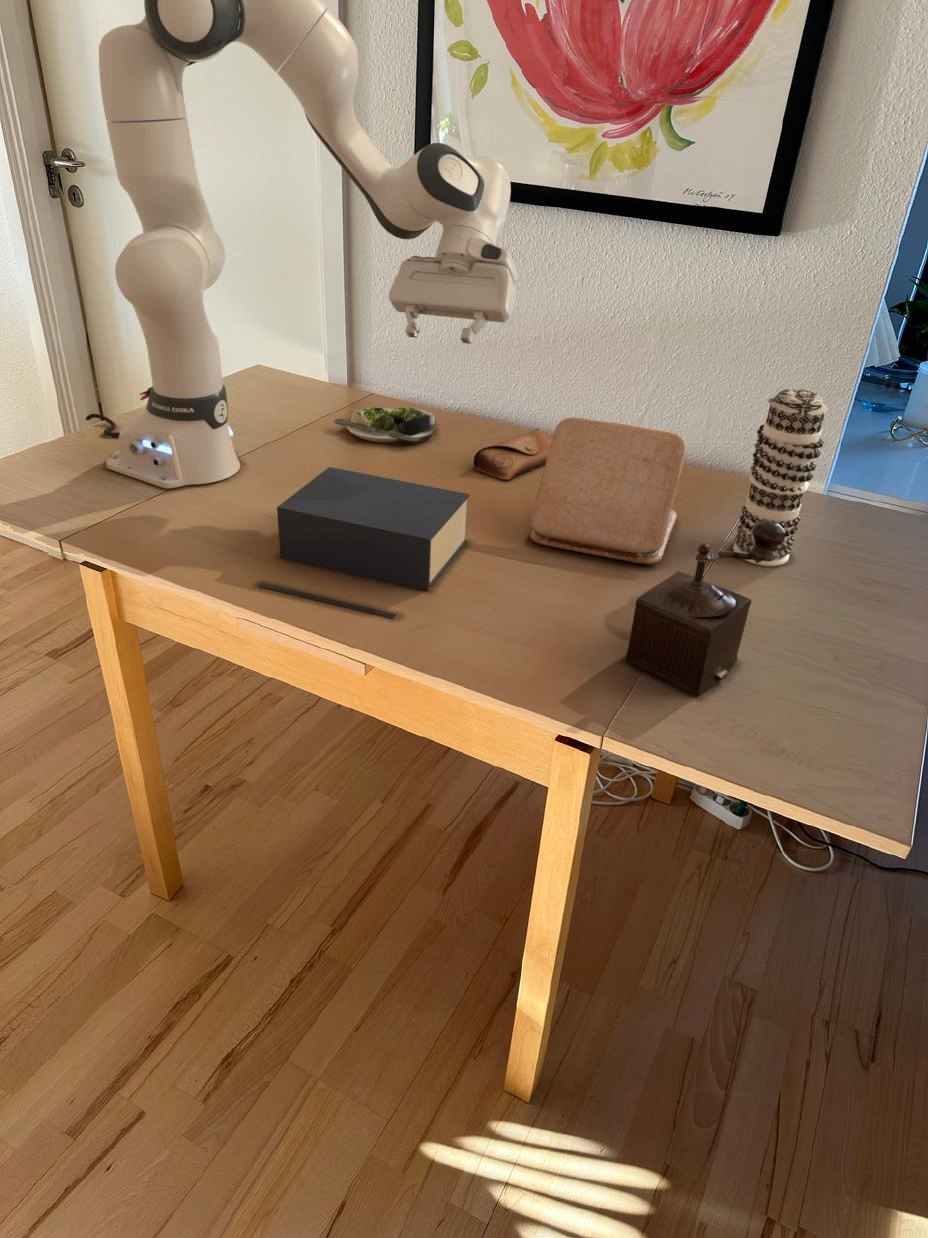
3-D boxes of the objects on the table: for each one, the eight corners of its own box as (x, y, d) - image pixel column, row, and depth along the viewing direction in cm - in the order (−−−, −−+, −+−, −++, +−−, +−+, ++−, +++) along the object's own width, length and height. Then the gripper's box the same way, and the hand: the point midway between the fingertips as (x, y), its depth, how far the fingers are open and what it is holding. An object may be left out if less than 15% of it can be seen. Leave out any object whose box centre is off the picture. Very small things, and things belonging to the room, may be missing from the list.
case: (523, 545, 137) (532, 445, 129) (559, 493, 154) (569, 402, 146) (656, 573, 132) (675, 471, 123) (678, 516, 149) (696, 423, 140)
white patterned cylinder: (763, 572, 134) (805, 409, 120) (717, 546, 140) (753, 388, 127) (804, 559, 138) (850, 400, 125) (758, 534, 144) (797, 380, 131)
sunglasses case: (509, 480, 156) (496, 443, 155) (481, 488, 162) (469, 453, 160) (569, 454, 168) (558, 419, 167) (542, 462, 173) (530, 429, 172)
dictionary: (280, 557, 130) (276, 507, 126) (330, 513, 143) (329, 466, 139) (428, 591, 124) (429, 539, 120) (466, 542, 137) (469, 493, 133)
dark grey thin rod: (258, 586, 123) (258, 585, 123) (262, 583, 124) (262, 582, 124) (393, 618, 118) (393, 618, 118) (396, 615, 119) (396, 614, 119)
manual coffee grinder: (702, 701, 106) (734, 567, 96) (622, 662, 112) (645, 532, 102) (761, 648, 116) (795, 522, 107) (685, 615, 122) (711, 493, 112)
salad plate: (327, 444, 168) (326, 420, 165) (342, 412, 183) (341, 389, 180) (430, 451, 167) (431, 427, 165) (437, 418, 183) (438, 395, 180)
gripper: (397, 243, 143) (371, 320, 141) (518, 251, 136) (492, 333, 133) (411, 267, 149) (386, 342, 146) (527, 276, 142) (503, 355, 139)
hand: (438, 338), depth 140 cm, fingers open, 8 cm apart
